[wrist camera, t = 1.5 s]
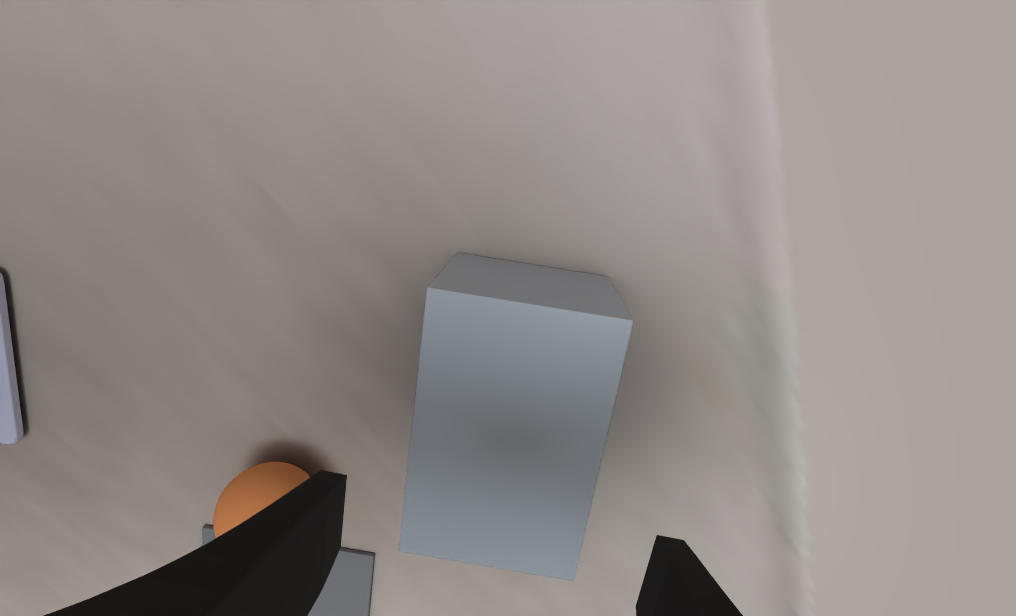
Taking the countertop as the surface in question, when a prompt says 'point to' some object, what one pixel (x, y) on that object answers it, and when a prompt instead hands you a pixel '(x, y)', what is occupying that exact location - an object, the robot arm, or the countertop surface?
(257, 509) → the ball
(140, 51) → the countertop surface
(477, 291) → the pale grey rectangular box
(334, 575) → the thin grey panel
